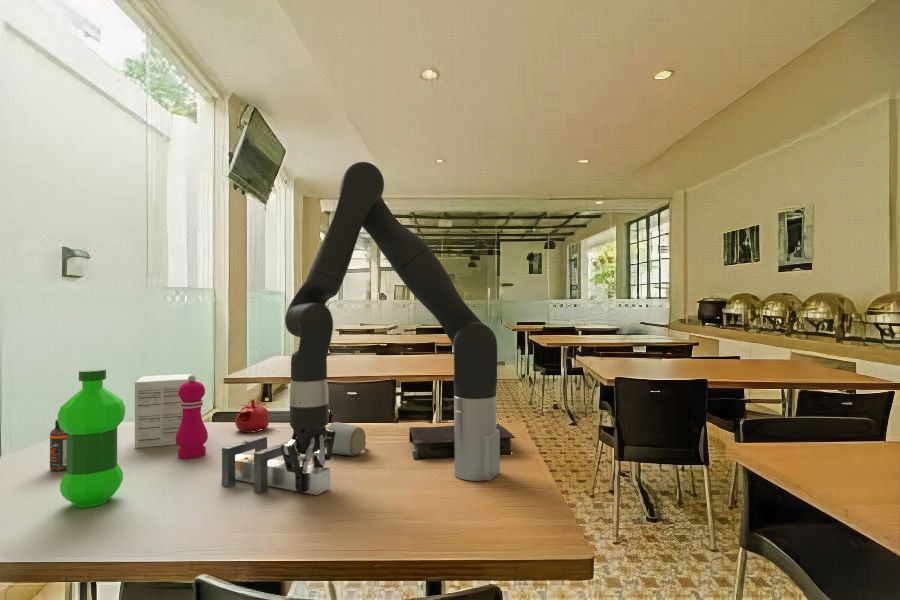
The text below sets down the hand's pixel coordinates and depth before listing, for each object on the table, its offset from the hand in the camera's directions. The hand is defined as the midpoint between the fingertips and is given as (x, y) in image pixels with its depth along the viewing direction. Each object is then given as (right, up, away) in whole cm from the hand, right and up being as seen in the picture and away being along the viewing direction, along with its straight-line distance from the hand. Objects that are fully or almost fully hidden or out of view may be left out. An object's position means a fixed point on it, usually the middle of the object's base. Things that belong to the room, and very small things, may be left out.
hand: (309, 487), depth 103 cm
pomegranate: (-31, -2, +52) cm, 60 cm away
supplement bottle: (-61, -1, +16) cm, 63 cm away
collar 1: (-16, -1, +8) cm, 18 cm away
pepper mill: (-36, -1, +25) cm, 44 cm away
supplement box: (-51, -2, +40) cm, 65 cm away
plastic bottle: (-40, -1, -5) cm, 40 cm away
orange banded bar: (-9, 0, +4) cm, 10 cm away
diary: (+31, -2, +30) cm, 43 cm away
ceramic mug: (+2, -1, +27) cm, 27 cm away
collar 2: (-8, -1, +4) cm, 9 cm away
